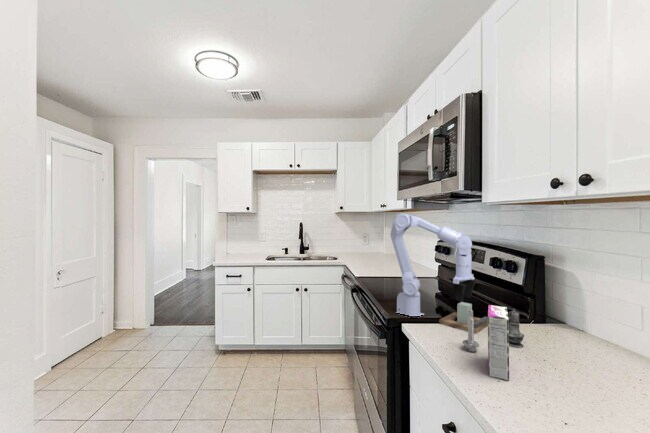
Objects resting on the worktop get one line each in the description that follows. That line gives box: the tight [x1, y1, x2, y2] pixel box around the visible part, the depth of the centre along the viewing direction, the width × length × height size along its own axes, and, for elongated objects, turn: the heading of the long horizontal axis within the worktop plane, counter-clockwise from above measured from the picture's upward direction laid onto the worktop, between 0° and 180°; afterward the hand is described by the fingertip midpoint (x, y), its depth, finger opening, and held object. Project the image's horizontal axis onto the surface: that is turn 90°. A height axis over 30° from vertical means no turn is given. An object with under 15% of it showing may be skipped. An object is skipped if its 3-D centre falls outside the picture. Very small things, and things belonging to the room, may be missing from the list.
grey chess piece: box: [508, 308, 525, 349], centre depth 99 cm, size 6×6×12 cm
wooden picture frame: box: [438, 312, 488, 335], centre depth 117 cm, size 14×14×2 cm
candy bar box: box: [487, 304, 510, 381], centre depth 82 cm, size 11×5×16 cm, turn 151°
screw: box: [461, 309, 480, 353], centre depth 94 cm, size 13×5×5 cm
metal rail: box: [473, 316, 488, 329], centre depth 113 cm, size 1×12×2 cm, turn 132°
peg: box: [456, 301, 473, 325], centre depth 117 cm, size 4×4×8 cm
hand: (463, 299), depth 119 cm, fingers open, 7 cm apart
